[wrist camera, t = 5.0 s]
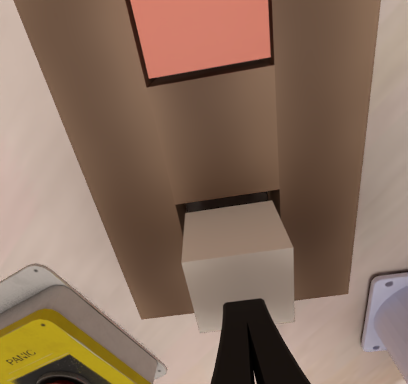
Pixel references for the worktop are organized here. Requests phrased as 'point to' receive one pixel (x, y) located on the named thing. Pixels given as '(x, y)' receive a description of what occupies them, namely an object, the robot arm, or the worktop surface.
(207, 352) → the worktop surface
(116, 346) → the emergency button
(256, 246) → the off-white plunger
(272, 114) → the walnut plunger housing
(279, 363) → the robot arm
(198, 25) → the salmon red square block
